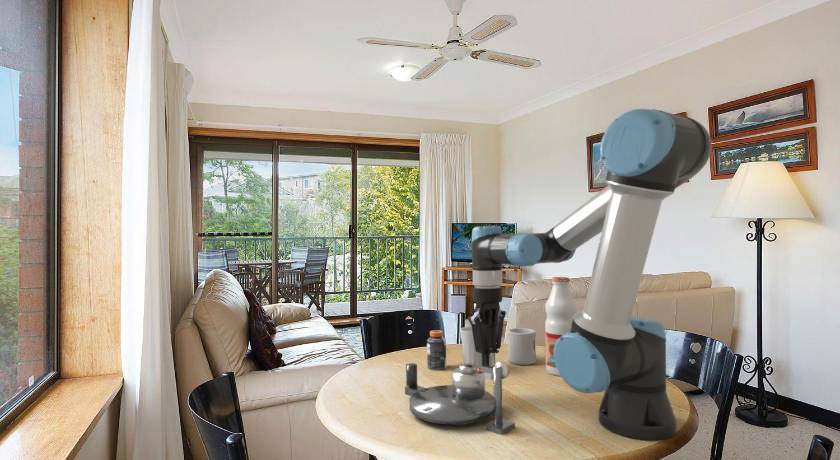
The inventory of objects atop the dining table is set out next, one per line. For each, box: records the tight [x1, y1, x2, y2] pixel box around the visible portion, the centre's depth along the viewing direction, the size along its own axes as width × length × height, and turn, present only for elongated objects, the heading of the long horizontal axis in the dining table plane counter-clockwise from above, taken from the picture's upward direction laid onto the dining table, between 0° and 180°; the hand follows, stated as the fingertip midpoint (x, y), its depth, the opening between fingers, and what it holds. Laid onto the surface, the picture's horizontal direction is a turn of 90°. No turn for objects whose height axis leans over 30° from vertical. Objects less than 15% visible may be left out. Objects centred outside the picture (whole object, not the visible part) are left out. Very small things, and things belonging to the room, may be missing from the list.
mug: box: [507, 327, 537, 366], centre depth 153 cm, size 12×9×10 cm
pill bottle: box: [426, 329, 447, 371], centre depth 146 cm, size 6×6×11 cm
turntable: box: [404, 362, 494, 425], centre depth 112 cm, size 25×20×7 cm
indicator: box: [477, 361, 516, 436], centre depth 102 cm, size 8×5×14 cm, turn 45°
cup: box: [459, 326, 482, 368], centre depth 145 cm, size 8×8×12 cm
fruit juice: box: [544, 276, 578, 377], centre depth 139 cm, size 9×9×28 cm
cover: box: [451, 363, 486, 398], centre depth 114 cm, size 8×8×7 cm
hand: (488, 378), depth 120 cm, fingers closed
